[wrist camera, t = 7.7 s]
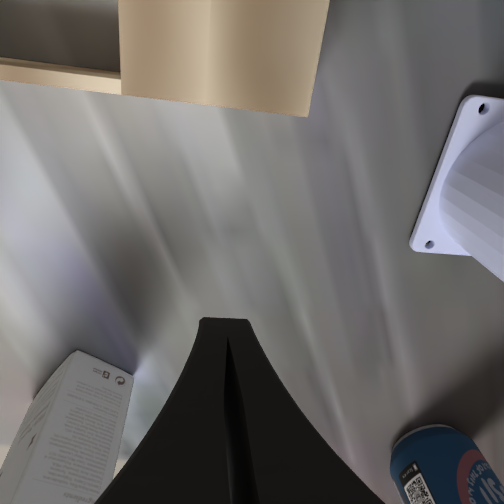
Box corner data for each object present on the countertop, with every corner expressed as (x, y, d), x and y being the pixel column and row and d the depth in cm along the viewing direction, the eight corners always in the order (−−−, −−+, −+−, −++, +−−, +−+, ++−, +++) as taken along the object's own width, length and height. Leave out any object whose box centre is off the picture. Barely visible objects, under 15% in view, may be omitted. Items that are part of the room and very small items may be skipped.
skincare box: (73, 345, 22) (-50, 617, 12) (140, 375, 24) (84, 637, 13) (28, 404, 24) (-112, 682, 14) (92, 428, 26) (11, 692, 15)
